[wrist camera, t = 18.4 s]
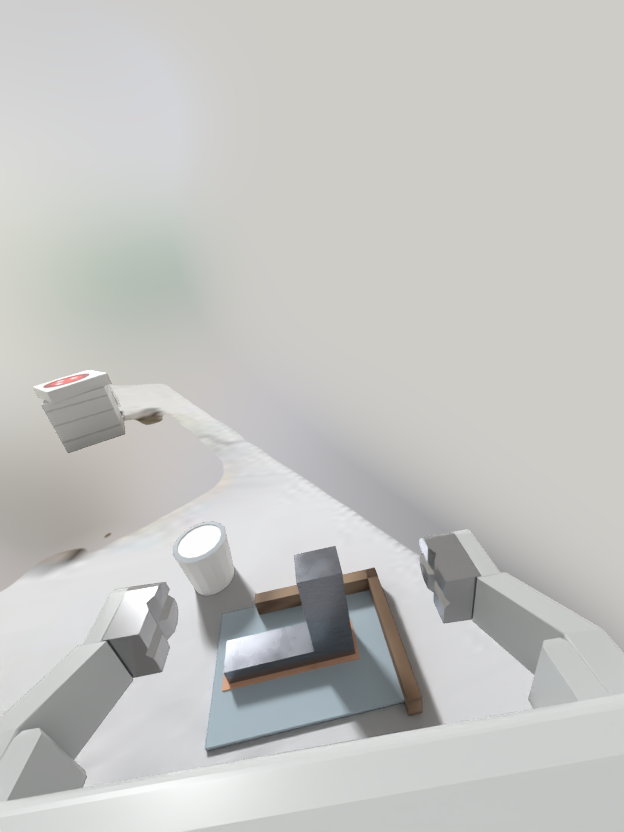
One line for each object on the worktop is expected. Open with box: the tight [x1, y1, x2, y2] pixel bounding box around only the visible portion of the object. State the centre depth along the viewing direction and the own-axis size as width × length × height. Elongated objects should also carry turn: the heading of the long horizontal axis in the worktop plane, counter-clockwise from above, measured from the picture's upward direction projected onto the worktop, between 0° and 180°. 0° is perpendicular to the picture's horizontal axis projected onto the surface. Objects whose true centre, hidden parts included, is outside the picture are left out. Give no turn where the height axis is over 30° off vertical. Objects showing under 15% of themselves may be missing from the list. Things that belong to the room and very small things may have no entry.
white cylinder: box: [173, 521, 235, 596], centre depth 43 cm, size 7×7×7 cm
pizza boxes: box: [33, 370, 125, 453], centre depth 100 cm, size 19×30×18 cm, turn 31°
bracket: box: [223, 546, 355, 684], centre depth 31 cm, size 13×3×12 cm, turn 97°
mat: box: [205, 590, 404, 751], centre depth 34 cm, size 19×12×1 cm, turn 97°
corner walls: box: [255, 568, 422, 715], centre depth 33 cm, size 15×13×2 cm
